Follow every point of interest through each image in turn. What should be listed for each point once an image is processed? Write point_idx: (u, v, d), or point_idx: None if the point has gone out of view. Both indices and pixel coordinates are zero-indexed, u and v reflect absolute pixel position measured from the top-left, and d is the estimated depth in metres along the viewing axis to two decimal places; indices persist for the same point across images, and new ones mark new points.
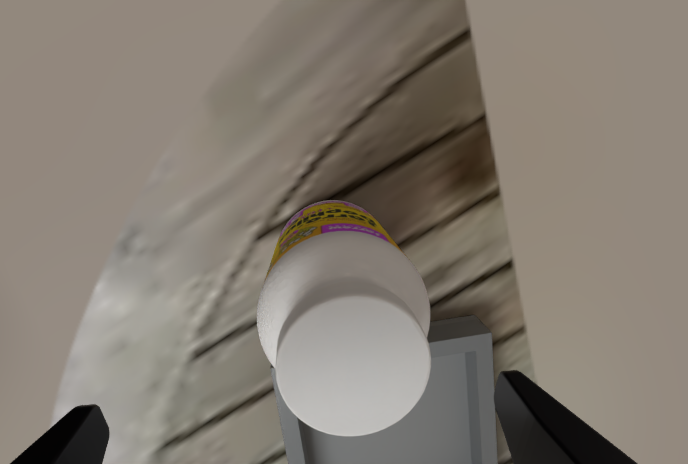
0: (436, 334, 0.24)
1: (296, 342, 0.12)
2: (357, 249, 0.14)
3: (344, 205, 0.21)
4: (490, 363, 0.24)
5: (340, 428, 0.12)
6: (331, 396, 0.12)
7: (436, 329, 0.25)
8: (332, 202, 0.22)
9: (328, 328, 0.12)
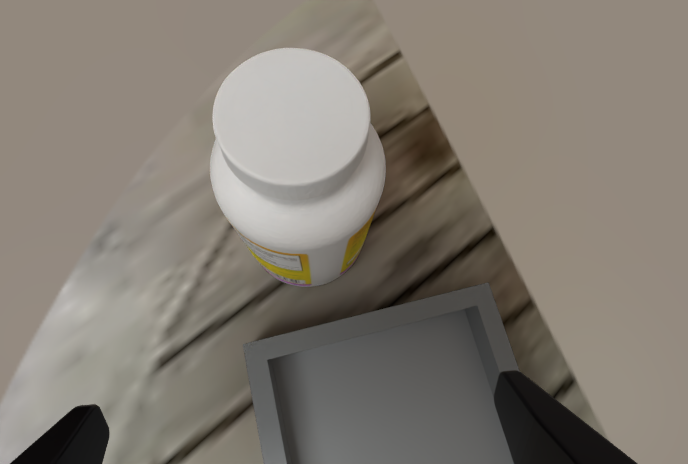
0: None
1: (232, 87, 0.12)
2: None
3: None
4: (498, 320, 0.21)
5: (282, 173, 0.11)
6: (270, 139, 0.12)
7: None
8: None
9: (263, 75, 0.12)
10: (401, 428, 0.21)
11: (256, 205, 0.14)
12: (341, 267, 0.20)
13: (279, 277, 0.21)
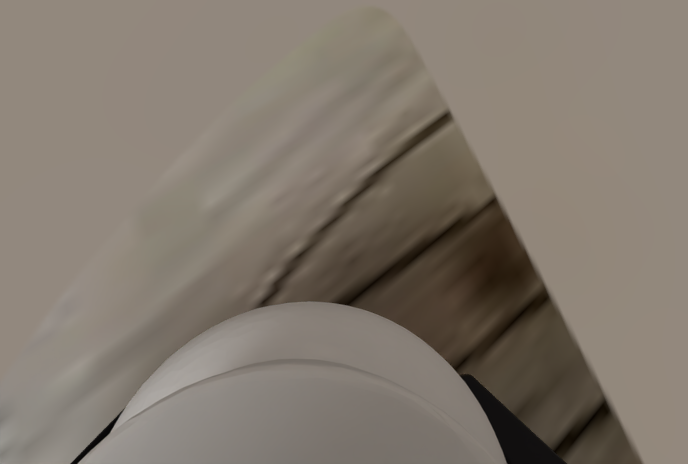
0: None
1: None
2: (309, 319, 0.06)
3: None
4: None
5: None
6: None
7: None
8: None
9: None
10: None
11: None
12: None
13: None
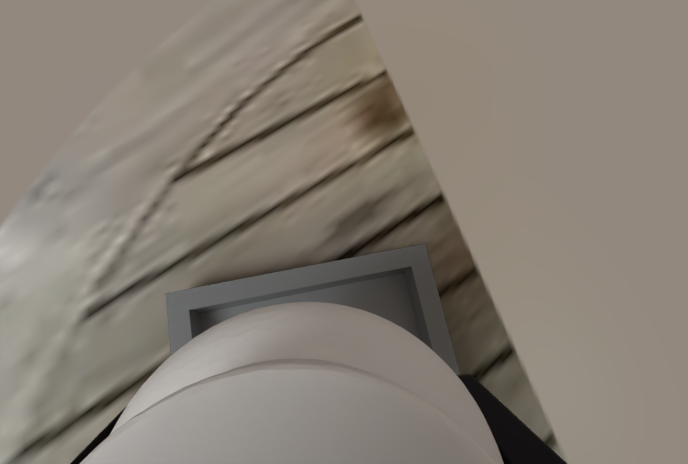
0: None
1: None
2: (308, 319, 0.06)
3: None
4: (432, 281, 0.20)
5: None
6: None
7: None
8: None
9: None
10: None
11: None
12: None
13: None
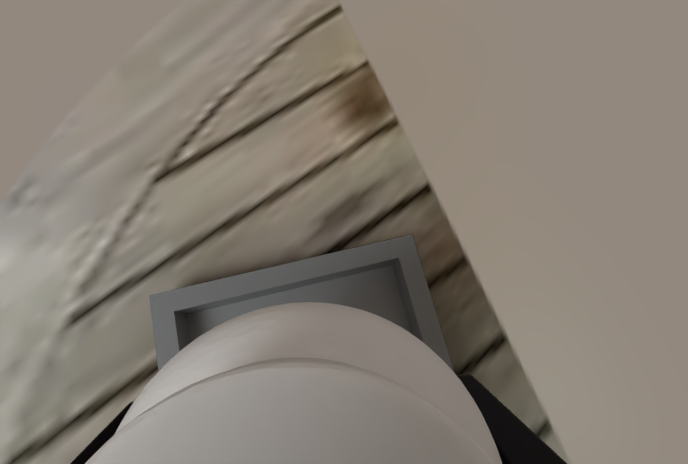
0: None
1: None
2: (309, 319, 0.07)
3: None
4: (420, 272, 0.20)
5: None
6: None
7: None
8: None
9: None
10: None
11: None
12: None
13: None
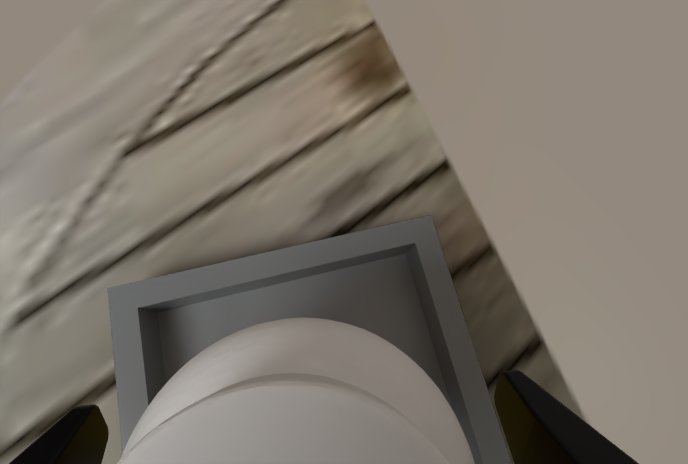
0: None
1: None
2: (303, 334, 0.07)
3: None
4: (441, 261, 0.16)
5: None
6: None
7: None
8: None
9: None
10: None
11: None
12: None
13: None
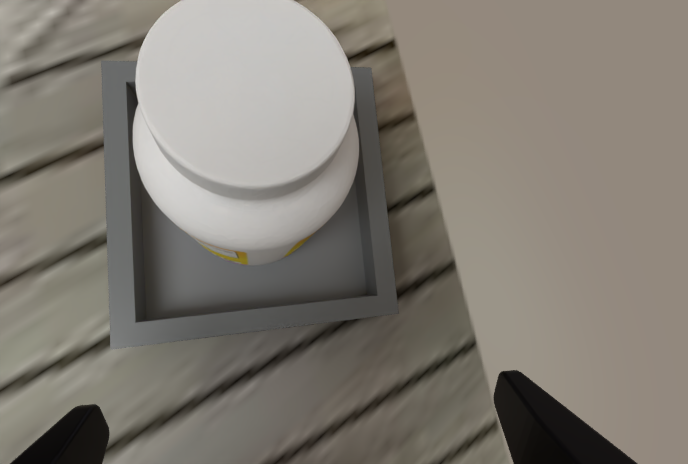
0: None
1: (171, 29, 0.08)
2: None
3: None
4: (372, 103, 0.21)
5: (224, 168, 0.08)
6: (215, 115, 0.08)
7: None
8: None
9: (218, 20, 0.09)
10: None
11: (186, 189, 0.10)
12: (285, 255, 0.18)
13: (211, 252, 0.18)
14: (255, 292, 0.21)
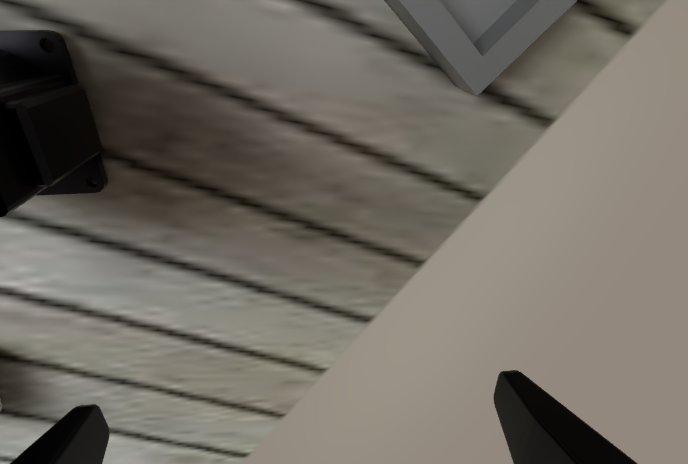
0: None
1: None
2: None
3: None
4: None
5: None
6: None
7: None
8: None
9: None
10: None
11: None
12: None
13: None
14: None
